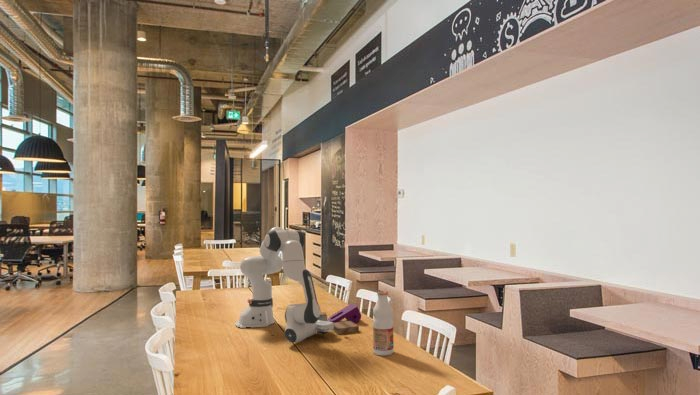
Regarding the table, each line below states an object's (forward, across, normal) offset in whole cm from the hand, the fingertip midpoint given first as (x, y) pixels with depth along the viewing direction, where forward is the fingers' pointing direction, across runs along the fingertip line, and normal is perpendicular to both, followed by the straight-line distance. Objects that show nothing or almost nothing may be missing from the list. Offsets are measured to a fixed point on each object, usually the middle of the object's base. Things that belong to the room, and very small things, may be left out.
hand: (323, 321), depth 245 cm
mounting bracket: (+22, 0, +6) cm, 23 cm away
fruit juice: (-17, -44, +6) cm, 47 cm away
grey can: (-1, 0, +6) cm, 6 cm away
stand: (+7, -9, +6) cm, 13 cm away
